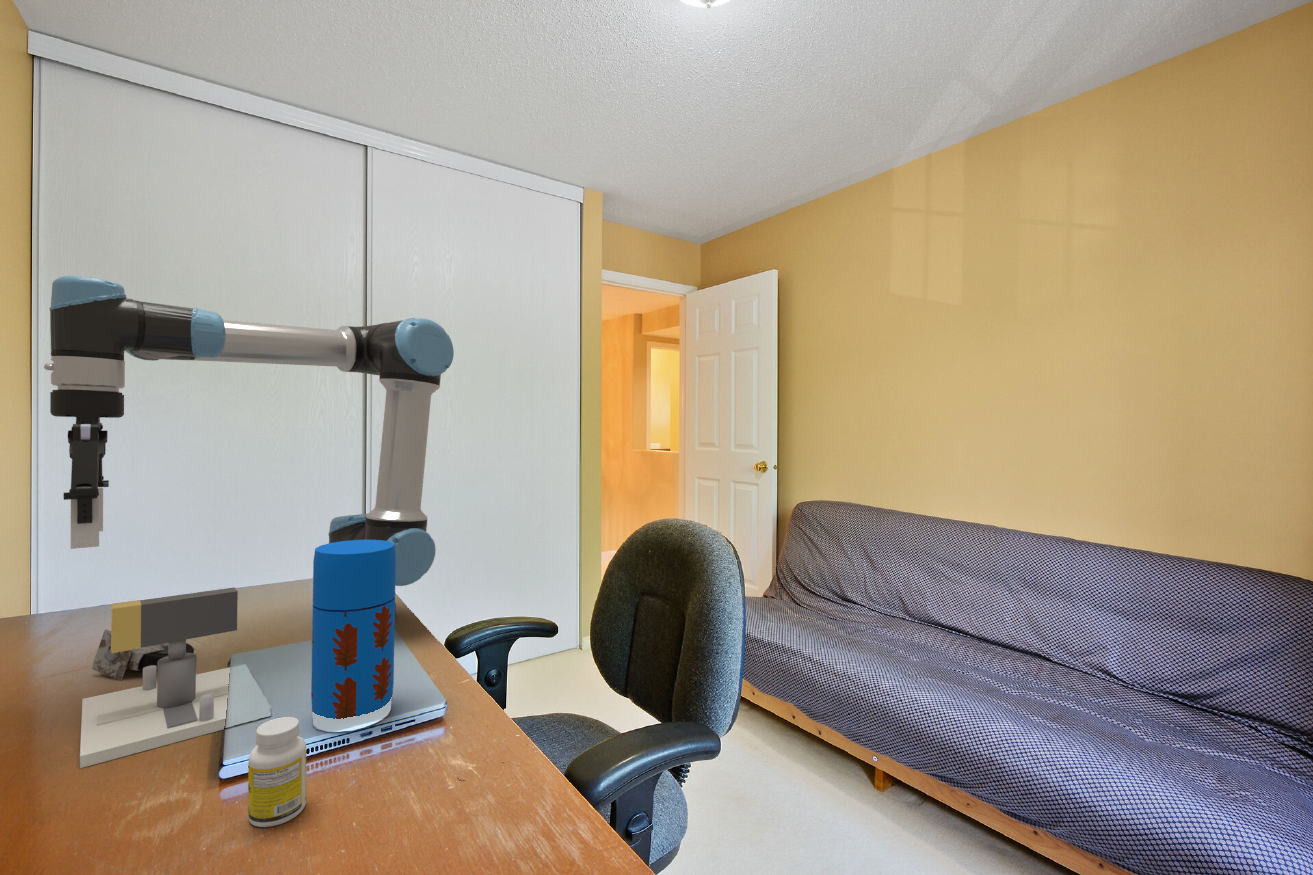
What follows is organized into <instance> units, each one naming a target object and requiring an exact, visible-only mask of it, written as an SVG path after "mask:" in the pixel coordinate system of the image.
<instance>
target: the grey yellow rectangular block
mask: <svg viewBox="0 0 1313 875" xmlns="http://www.w3.org/2000/svg"><path fill="white" fill-rule="evenodd" d="M238 600H239V599H238V590H237V589H236V587H228V588H227V587H226V588H220V589H214V590H213V589H212V590H205V591H198V592H191V593H184V594H177V595H170V596H163V597H155V598H148V599H138V600H130V601H124V602H123V601H121V602H116V603H115V602H114V603H111V606H110V607H111V612H110V614H111V617H110V618H111V624H110V628H111V630H110V631H111V653H117V652H122V651H128V650H133V649H139V648H142V647H147V646H153V645H158V644H164V643H168V658H171V659H173V658H180V657H183V656H185V655H186V643H187V640H190V639H191V640H192V639H196V638H202V637H207V636H213V635H220V634H223V633H230V632H235V631H238Z"/></svg>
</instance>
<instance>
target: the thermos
mask: <svg viewBox="0 0 1313 875" xmlns="http://www.w3.org/2000/svg"><path fill="white" fill-rule="evenodd" d="M312 563H313V565H312V567H313V568H312V569H313V571H312V619H311V620H312V621H311V622H312V624H311V628H312V629H311V631H312V632H311V635H312V636H311V637H312V638H311V682H310V683H311V687H310V689H311V692H310V694H311V695H310V696H311V713H312V712H314V713H315V714H317V715H320V716H324V717H326V718H333V719H335V718H336V719H341V718H343V719H344V718H347V717H353V716H360V715H362V714H368V713H370V712H374V711H375V710H378V709H380V708H382V707H383V706H385V705H386V704H387V703H388V702H389V701H390V699H391V697H392V695H393V694H394V678H395V676H394V675H395V669H394V668H395V667H394V666H395V622H396V621H395V619H396V617H395V603H396V597H395V596H396V586H395V577H396V553H395V545H394V543H392V542H389V541H382V540H350V541H340V542H334V543H329V542H328V543H324V544H321V545H319V546H316V548H314V555H313V562H312ZM392 698H393V697H392Z"/></svg>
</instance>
